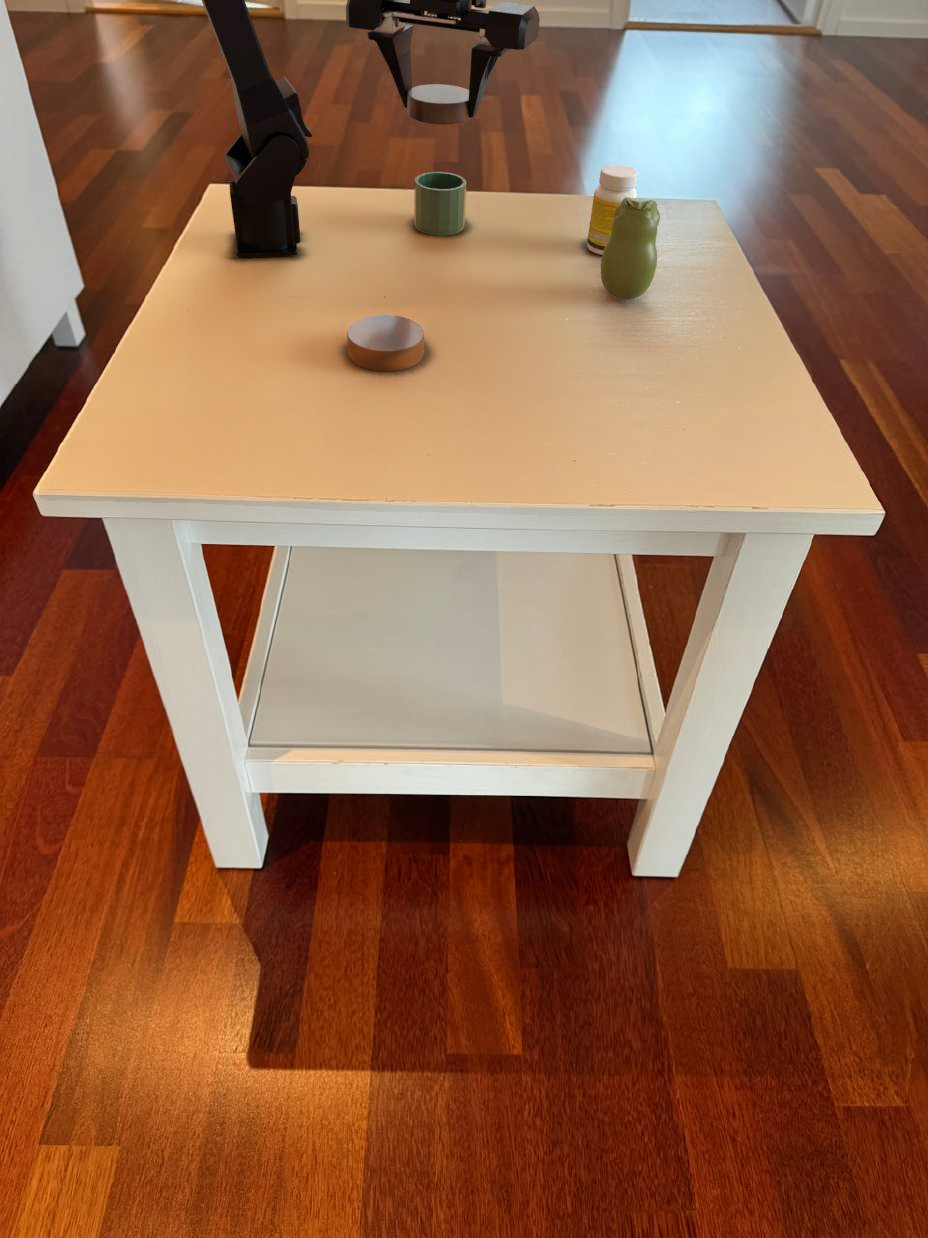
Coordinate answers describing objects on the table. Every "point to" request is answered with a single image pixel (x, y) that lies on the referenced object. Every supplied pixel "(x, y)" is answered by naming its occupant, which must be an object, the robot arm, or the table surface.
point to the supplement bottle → (609, 202)
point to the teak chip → (385, 342)
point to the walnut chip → (438, 104)
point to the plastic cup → (439, 203)
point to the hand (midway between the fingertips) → (440, 111)
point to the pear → (631, 249)
